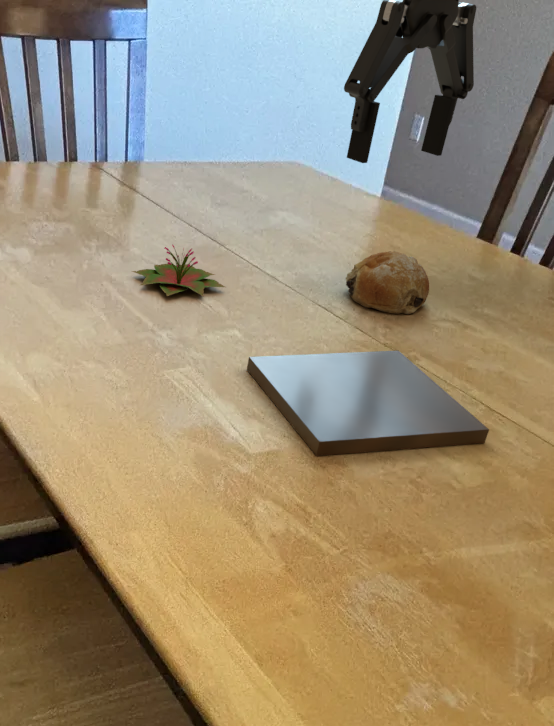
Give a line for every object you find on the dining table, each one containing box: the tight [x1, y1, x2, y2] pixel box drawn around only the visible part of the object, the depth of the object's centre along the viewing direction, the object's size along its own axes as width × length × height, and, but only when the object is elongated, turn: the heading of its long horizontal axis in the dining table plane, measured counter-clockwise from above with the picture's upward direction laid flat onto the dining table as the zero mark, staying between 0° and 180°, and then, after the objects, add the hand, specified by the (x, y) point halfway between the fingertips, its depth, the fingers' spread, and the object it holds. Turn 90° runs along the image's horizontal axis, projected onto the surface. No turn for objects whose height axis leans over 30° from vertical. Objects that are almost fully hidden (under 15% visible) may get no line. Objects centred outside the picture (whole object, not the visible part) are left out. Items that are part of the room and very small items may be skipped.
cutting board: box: [246, 349, 490, 457], centre depth 89 cm, size 18×18×2 cm
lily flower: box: [131, 244, 226, 297], centre depth 111 cm, size 12×12×5 cm
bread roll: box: [345, 251, 430, 315], centre depth 113 cm, size 10×10×8 cm
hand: (395, 156), depth 108 cm, fingers open, 13 cm apart
